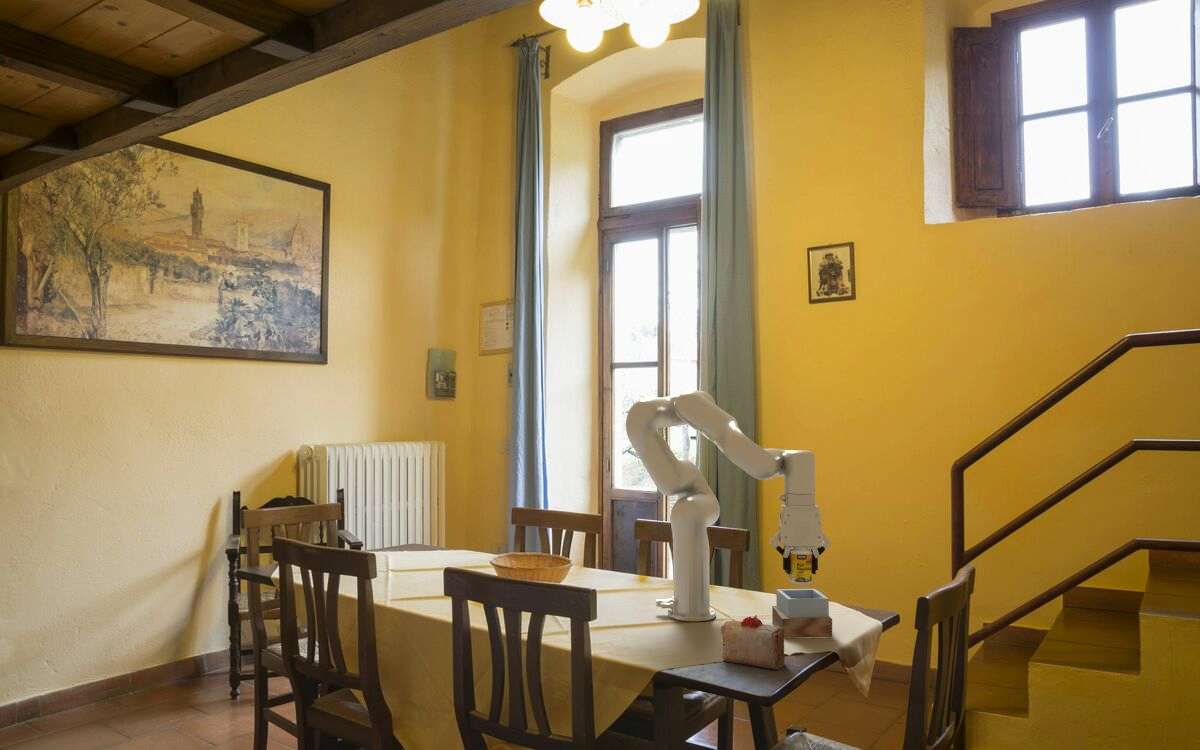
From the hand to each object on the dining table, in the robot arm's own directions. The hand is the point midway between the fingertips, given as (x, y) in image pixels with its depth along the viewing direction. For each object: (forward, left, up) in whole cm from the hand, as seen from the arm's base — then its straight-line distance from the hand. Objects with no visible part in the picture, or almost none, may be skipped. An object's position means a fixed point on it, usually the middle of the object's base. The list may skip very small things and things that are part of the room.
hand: (800, 572), depth 202 cm
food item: (-16, -24, -15) cm, 33 cm away
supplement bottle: (0, 0, -3) cm, 3 cm away
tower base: (0, 0, -15) cm, 15 cm away
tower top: (0, 0, -10) cm, 10 cm away
